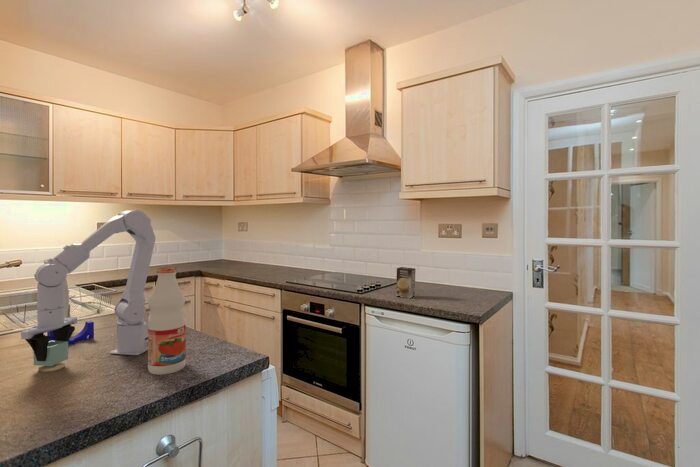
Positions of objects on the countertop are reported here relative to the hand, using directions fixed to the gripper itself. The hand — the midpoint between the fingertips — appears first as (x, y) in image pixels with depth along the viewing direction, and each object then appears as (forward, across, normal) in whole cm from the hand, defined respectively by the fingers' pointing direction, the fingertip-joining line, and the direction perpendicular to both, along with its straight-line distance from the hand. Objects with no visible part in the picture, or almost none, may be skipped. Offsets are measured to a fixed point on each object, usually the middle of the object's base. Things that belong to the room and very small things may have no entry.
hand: (51, 356), depth 100 cm
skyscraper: (+3, -31, -30) cm, 43 cm away
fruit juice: (+3, -5, +31) cm, 32 cm away
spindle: (+3, 0, 0) cm, 3 cm away
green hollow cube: (+1, 0, 0) cm, 1 cm away
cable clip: (+4, -19, -13) cm, 24 cm away
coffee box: (+3, -116, +99) cm, 152 cm away
